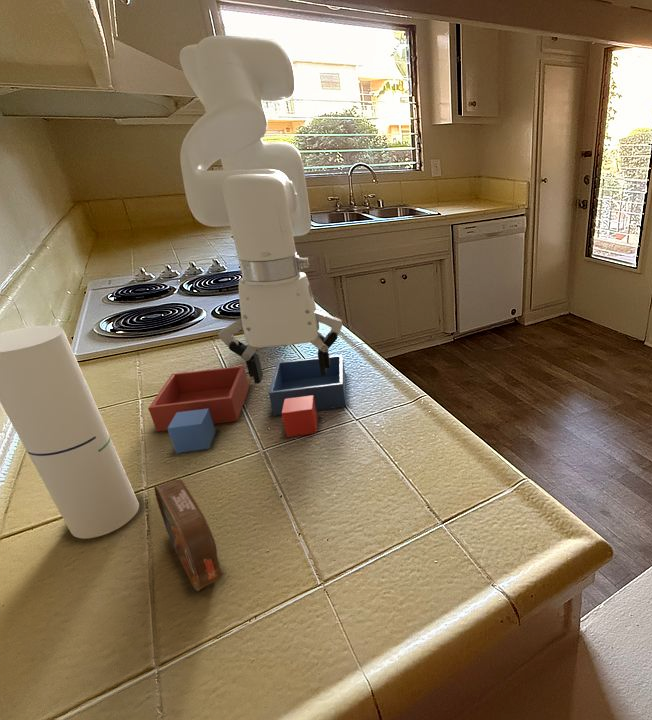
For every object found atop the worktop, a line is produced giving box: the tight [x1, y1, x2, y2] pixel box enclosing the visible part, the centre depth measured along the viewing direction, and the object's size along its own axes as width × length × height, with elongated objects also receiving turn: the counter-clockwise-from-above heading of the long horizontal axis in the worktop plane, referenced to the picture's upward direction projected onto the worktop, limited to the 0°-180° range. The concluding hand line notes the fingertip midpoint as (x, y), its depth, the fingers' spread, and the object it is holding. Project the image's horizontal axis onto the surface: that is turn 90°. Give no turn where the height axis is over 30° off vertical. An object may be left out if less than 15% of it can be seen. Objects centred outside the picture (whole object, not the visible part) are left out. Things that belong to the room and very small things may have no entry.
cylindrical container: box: [0, 324, 140, 539], centre depth 54 cm, size 7×7×25 cm
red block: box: [281, 395, 319, 438], centre depth 76 cm, size 5×5×5 cm
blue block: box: [167, 408, 217, 454], centre depth 72 cm, size 5×5×5 cm
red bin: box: [147, 365, 250, 432], centre depth 82 cm, size 12×12×5 cm
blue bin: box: [268, 354, 347, 417], centre depth 86 cm, size 12×12×5 cm
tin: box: [153, 478, 224, 592], centre depth 52 cm, size 15×3×8 cm, turn 45°
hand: (292, 375), depth 73 cm, fingers open, 9 cm apart
